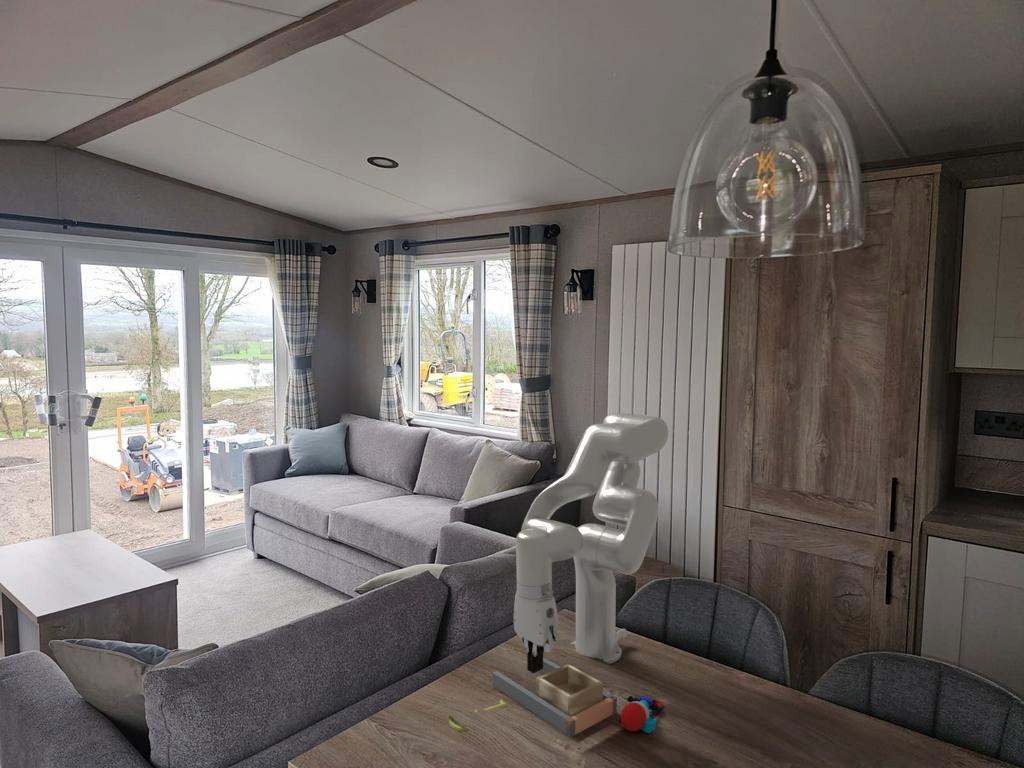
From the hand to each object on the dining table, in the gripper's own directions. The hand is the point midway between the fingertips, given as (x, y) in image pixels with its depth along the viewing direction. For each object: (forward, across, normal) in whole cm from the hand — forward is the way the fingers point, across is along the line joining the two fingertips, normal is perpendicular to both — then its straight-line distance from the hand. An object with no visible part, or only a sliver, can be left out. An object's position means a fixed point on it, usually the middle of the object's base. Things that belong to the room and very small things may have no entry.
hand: (535, 669), depth 146 cm
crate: (+4, -11, +1) cm, 12 cm away
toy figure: (+6, -21, -9) cm, 24 cm away
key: (+5, 0, +16) cm, 17 cm away
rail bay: (+5, -6, +1) cm, 8 cm away
